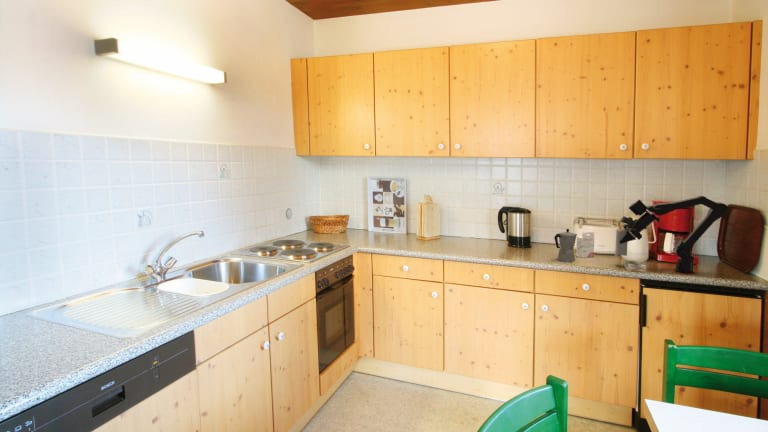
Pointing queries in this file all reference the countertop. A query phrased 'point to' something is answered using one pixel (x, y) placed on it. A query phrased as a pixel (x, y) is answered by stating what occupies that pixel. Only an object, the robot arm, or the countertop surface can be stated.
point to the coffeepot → (566, 246)
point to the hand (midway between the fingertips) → (618, 242)
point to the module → (622, 248)
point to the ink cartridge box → (585, 245)
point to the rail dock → (634, 266)
